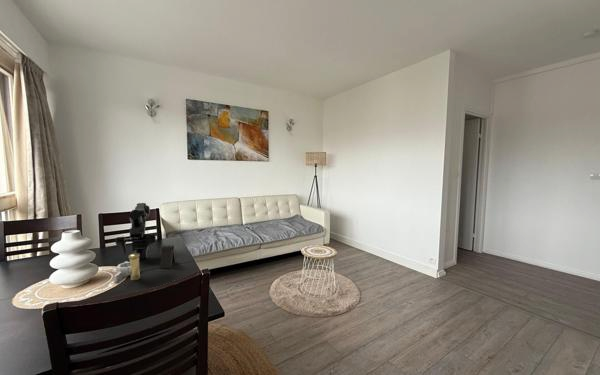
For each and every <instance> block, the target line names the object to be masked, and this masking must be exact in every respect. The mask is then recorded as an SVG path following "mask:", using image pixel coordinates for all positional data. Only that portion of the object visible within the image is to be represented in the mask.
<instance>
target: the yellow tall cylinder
mask: <svg viewBox="0 0 600 375" xmlns="http://www.w3.org/2000/svg"><path fill="white" fill-rule="evenodd" d="M139 256H140V254H139V253H136V252H134V253H131V254H129V255H128V259H129V262H130V272H131V275H130V280H131V281H137V280H139V279H141V274H140V273H141V272H140V260H139Z"/></svg>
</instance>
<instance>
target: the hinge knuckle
mask: <svg viewBox="0 0 600 375" xmlns="http://www.w3.org/2000/svg"><path fill="white" fill-rule="evenodd" d="M115 269H116V274H115V275H113V282H115V283H117V282H118V281H120V280H121V279H122V278H123V277H128V276H131V272H130V261H128V260H127V261H126V260H125V261H124V262H121V263H119V264H118V265H117V266H116V268H115Z"/></svg>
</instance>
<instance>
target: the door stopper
mask: <svg viewBox="0 0 600 375" xmlns="http://www.w3.org/2000/svg"><path fill="white" fill-rule="evenodd" d="M160 251H161V252H160V253H161V254H160V261H159V262H160V263H159V264H160V265H159V269H172V267H173V266H174V265H175V264H176V263H177V258H176V254H175V246H174V244H172V245H162V246H161V249H160Z"/></svg>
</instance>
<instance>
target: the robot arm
mask: <svg viewBox="0 0 600 375" xmlns="http://www.w3.org/2000/svg"><path fill="white" fill-rule="evenodd" d="M150 215H151V209H150V206H149V205H148V204H147V203H145V202H138V203H136V205H135V207H134V209H132V210H131V211H130V213H129V214H128V218H129V221H130V224H131V225H130V226H131V227H130V228H129V238H126V237H125V236H117V237H115V240H114V241H115V244H116V246H117V247H119V248H122V250H123V253H124V255H125V256H127V244H126V243H131V248H132V252H135V253H139V254H140V256H139V261H144V260H147V259H148V257H149V254H147V253H148V250H149V249H150V248H151V245H152V244H154V243H156V242H157V236H156V234H155V233H148V234H146V222H147V220H148V218H149V217H150Z"/></svg>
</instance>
